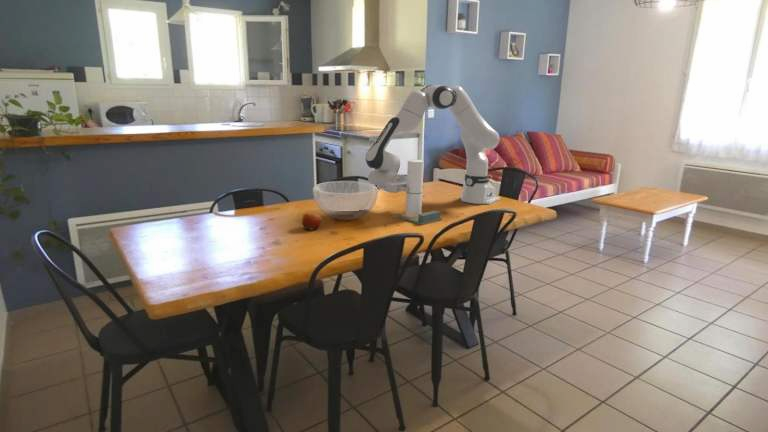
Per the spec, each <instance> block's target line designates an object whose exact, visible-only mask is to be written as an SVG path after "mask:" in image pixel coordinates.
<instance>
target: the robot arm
mask: <svg viewBox="0 0 768 432" xmlns="http://www.w3.org/2000/svg"><path fill="white" fill-rule="evenodd" d="M429 108H431V109H435V110H437V109H438V110H445V109H449V110H450V112H451V114H452V116H453V117H454V119H455V121H456V122H457V124H458V125H459V127H460V128H462V130H461V132H460V139H461V142H462V144H463V145H464V149H465V157H466V168H465V175H464V183H463V184H462V190H461V195H460V196H459V198H460V200H461V202H464V203H467V204H468V203H469V204H475V205H490V204H493V203H495V202H498V201H499V200H501V198H500V197H499V196H497V195H496V194H497V189H496V188H495V187H494V186H493V185H492V184H491V183H490V180H492V178H493V176H492V175H491V174H488V173H489V159H488V157H487V155H486V152H485V151H487V150H494V149H496V148H497V146H499V144H500V135H499V134H500V133H498V131H496V130H495V129H493V127H492V126H490V125H489V123H488V122H487V121H486V120H485V119H484V117H482V115H481V114H480V112H479V111H478V109H477V108H476V106H475V105H474V103H473V101H472V100H471V97H470V96H469V95H468V94H467V92H466V91H465V90H464V88H463V87H461V86H460V85H453V86H451V87H448V86H447V85H440V84H434V85H433V84H430V85H427V86H424V87H423V88H422V89H421V90H418V89H417V90H413V91H411V92H410V93H409V94H408V96H407V98H405V100H404V102H403V104H402V106H401V108H400V110H399V112H398V113H397V114H396V115H395V116H394V117H392V118H390V120H389V121H387V123H386V124H385V126H384V127H383V129H382V130H381V133H380V134H379V135H378V137H377V139H376V140H375V142H373V143H374V144H373V145H372V146H371V147H370V148H369V149H368V151H367V152H366V154H365V163H366V165H367V167H368V168H371V169H373V170H371V171H369V173H368V175H367V179H368V183H369V185H371V184H374V185H377V187H378V188H377V189H378V190H383V191H385V192H388V193H392V194H397V193H400V192H407V191H409V187H407V174H398V173H399V170H400V166H401V161H400V158H399V156H397V155H396V154H394V153H391V152H389V151H386V149H387V147H388V145H389V144H390V142H391V141H392V139H393V137H394V136H395V135H396V134H399V133H408V132H413V131H415V130H416V129H417V128H418V127H419V126H420V124H421V121H422V119H423V117H424V115H425V113H426V111H427V110H428V109H429ZM424 188H425V186H424V184H423V188H422V190H423V189H424Z"/></svg>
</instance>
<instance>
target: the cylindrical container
mask: <svg viewBox="0 0 768 432" xmlns="http://www.w3.org/2000/svg"><path fill="white" fill-rule="evenodd" d="M424 165H425V162H424V160H423V159H408V160H407V172H406V173H407V174H406V175H407V187H409V191H407V192H406V191H405V192H406V194H405V196H406V197H405V212H406V216H409V217H418V215H419V214H421V212H422V205H423V204H422V203H423V189H424V188H423V185H424V180H423V179H424V169H425V167H424ZM422 188H423V189H422Z"/></svg>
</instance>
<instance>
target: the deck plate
mask: <svg viewBox="0 0 768 432" xmlns="http://www.w3.org/2000/svg"><path fill="white" fill-rule="evenodd" d="M395 218H397V219H400V220H404V221H408V222H410V223H414V224H416V225H420V226H424V225H427V224H431V223H436V222H439V221H441V220H442V217H441V211H438V210H432V211H428V212H427V211H426V212H422V211H421V214H419V215H418V217H409V216H406V211H405V212H402V213H399V214H396V215H395Z"/></svg>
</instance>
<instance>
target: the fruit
mask: <svg viewBox="0 0 768 432" xmlns="http://www.w3.org/2000/svg"><path fill="white" fill-rule="evenodd" d="M301 219H302V220H301V222H302V226H303V229H304V230H310V231H311V232H312V231H313V230H317V229H319V226H320V225H321V224H322V221H323V219H322V217H321V215H319V214H316V213H315V212H306V213H304V214H303V215H302V218H301Z"/></svg>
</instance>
